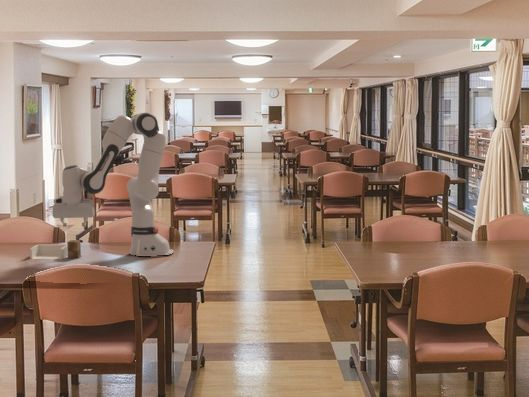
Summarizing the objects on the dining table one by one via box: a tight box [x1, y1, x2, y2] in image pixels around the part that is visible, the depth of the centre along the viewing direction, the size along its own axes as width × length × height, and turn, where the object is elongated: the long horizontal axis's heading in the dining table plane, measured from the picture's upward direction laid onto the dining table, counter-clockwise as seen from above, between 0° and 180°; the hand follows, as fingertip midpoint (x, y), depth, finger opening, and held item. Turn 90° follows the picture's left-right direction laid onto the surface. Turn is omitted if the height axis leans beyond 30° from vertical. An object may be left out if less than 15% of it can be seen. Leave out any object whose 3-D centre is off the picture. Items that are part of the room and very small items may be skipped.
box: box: [29, 243, 68, 260], centre depth 365 cm, size 16×11×6 cm
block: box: [66, 239, 82, 259], centre depth 363 cm, size 5×5×8 cm
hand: (74, 226), depth 362 cm, fingers open, 8 cm apart
